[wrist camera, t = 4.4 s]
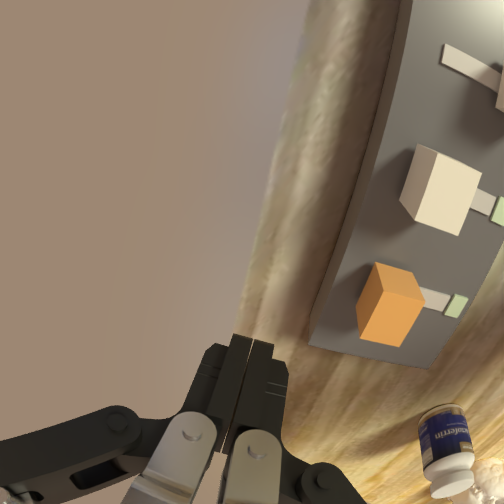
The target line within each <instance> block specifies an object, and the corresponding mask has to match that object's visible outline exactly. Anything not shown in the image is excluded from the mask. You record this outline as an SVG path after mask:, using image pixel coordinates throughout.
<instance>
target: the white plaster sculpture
mask: <svg viewBox="0 0 504 504" xmlns="http://www.w3.org/2000/svg"><path fill="white" fill-rule="evenodd" d="M470 470H471V471H472V472H473V475H474V484H473V485H472V486H471V487H470V488H468V489H467V490H465V491H463V492H461V493H459V494H456V495H453V496H450V497H448V498H447V500H452V501H453V503H452V504H504V458H500V459H497V458H494V457H490V458H486V459H482V460H479V461H476V462H474V463H473V465H472V466H471V468H470Z"/></svg>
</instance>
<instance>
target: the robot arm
mask: <svg viewBox="0 0 504 504" xmlns="http://www.w3.org/2000/svg"><path fill="white" fill-rule="evenodd" d="M252 341H253V339H252V338H249V337H245V336H241V335H238V334H233V336H232V339H231V342H230V345H229V347H227V346H224V345H221V344H217V343H215V344H213V345H212V346H211V347H210V348H209V349H207V350H206V351H205V354H204V356H203V358H202V361H201V364H200V366H199V368H198V370H197V373H196V375H195V378H194V380H193V382H192V385H191V387H190V390H189V392H188V394H187V397H186V400H185V402H184V404H183V407H182V408H181V410H180V411H179V412H178V413H177V414H176V415H174V416H172V417H170V418H166V419H159V420H158V419H156V420H155V419H144V418H139V417H138V416H137V414H136V413H135V412H134V411H132V410H131V409H129V408H127V407H124V406H118V405H117V406H116V405H115V406H109V407H106V408H103V409H101V410H98V411H95V412H92V413H90V414H87V415H84V416H81V417H78V418H75V419H72V420H69V421H66V422H64V423H60V424H57V425H54V426H51V427H48V428H44V429H42V430H38V431H35V432H31V433H28V434H24V435H21V436H17V437H14V438H10V439H6V440H3V441H0V504H60V503H64V502H67V501H70V500H73V499H76V498H79V497H82V496H84V495H87V494H90V493H93V492H95V491H98V490H101V489H103V488H106V487H108V486H111V485H113V484H116V483H118V482H120V481H123V480H125V479H128V478H130V477H132V476H135V475H137V474H139V473H140V475H138V476H137V477H136V478H135V480H134V481H133V482H132V484H131V486H130V488H129V489H128V491H127V493H126V495H125V497H124V498H123V500H122V502H121V504H192V503H193V500H194V498H195V496H196V493H197V491H198V489H199V486H200V484H201V481H202V479H203V477H204V474H205V472H206V470H207V469H208V468H209V466H210V463H211V460H212V457H213V454H214V451H216V452H220V450H221V447H222V445H223V442H224V439H225V436H226V433H227V436H226V439H225V443H224V447H223V450H222V453H223V454H227V455H228V456H227V459H226V463H225V467H224V469H223V472H222V475H221V480H220V486H219V491H218V497H217V502H216V504H367V503H366V502H365V501H364V499H363V498H362V497H361V496H360V494H359V493H358V492H357V491H356V489H355V488H354V487H353V486H352V484H351V483H350V482H349V480H348V479H347V478H346V476H345V475H344V474H343V473H342V471H341V470H340V469H339V468H337V467H336V466H334V465H332V464H330V463H324V462H321V463H315V464H313V465H310V464H308V463H306V462H304V461H302V460H300V459H298V458H296V457H294V456H293V455H291V454H290V453H289V452H288V451H287V450H286V449H285V447H284V446H283V444H282V441H281V427H282V420H283V414H284V407H285V399H286V398H285V397H286V392H287V385H288V377H289V373H288V370H287V367H286V364H285V362H283V361H279V360H275V359H272V355H273V350H274V344H271V343H267V342H263V341H260V340H256V339H255V340H254V343H253V346H252V349H251V352H250V348H251V345H252ZM249 352H250V355H249ZM248 356H249V358H248ZM247 360H248V362H247ZM246 363H247V365H246ZM245 367H246V368H245ZM228 428H229V429H228ZM227 430H228V432H227Z"/></svg>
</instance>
